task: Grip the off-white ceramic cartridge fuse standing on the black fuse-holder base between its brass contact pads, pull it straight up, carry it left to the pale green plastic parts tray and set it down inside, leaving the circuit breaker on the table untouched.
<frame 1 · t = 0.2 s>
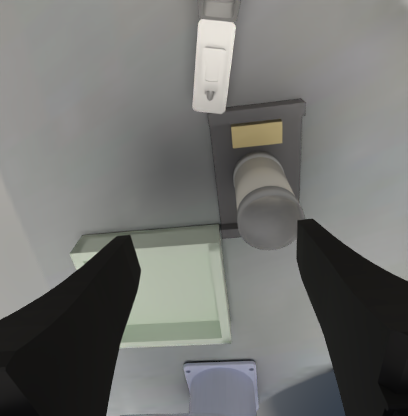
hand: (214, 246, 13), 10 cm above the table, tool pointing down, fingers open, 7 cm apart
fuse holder: (256, 172, 22), on the table
tray: (162, 281, 28), on the table
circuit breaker: (216, 34, 18), on the table
fuse: (257, 174, 22), resting on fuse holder
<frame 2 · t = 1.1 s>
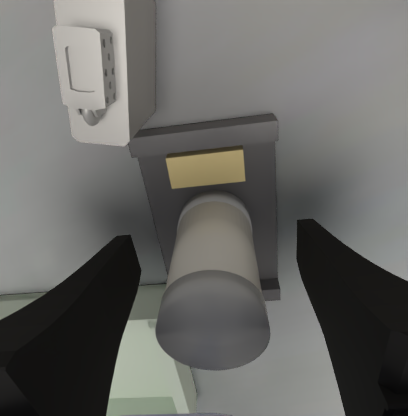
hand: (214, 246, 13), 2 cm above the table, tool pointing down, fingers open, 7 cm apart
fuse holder: (214, 217, 15), on the table
tray: (103, 350, 21), on the table
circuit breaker: (133, 14, 11), on the table
fuse: (214, 221, 15), resting on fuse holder
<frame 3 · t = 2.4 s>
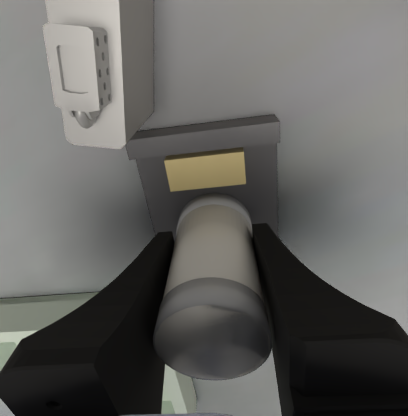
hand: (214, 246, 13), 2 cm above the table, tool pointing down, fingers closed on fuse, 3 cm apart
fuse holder: (214, 220, 15), on the table
tray: (101, 354, 21), on the table
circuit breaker: (130, 12, 11), on the table
fuse: (214, 225, 14), resting on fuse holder, touching gripper
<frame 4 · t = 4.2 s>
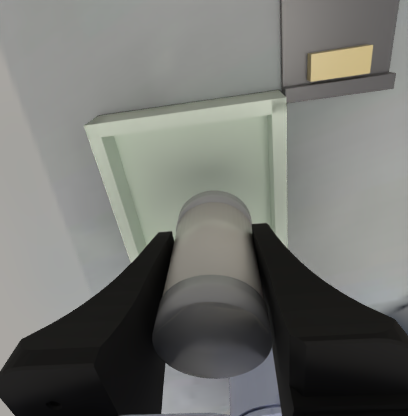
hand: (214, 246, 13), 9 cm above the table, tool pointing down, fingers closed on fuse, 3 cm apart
tray: (199, 185, 22), on the table
fuse: (214, 223, 14), point 8 cm above the table, touching gripper
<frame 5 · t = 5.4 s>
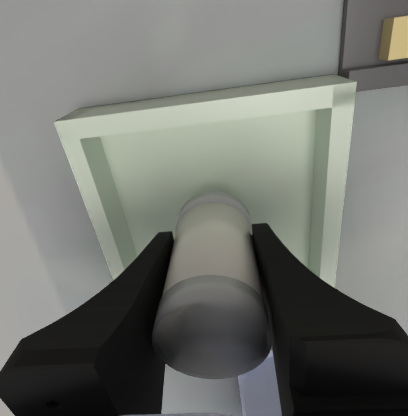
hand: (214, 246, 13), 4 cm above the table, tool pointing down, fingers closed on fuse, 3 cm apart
tray: (215, 203, 16), on the table
fuse: (214, 223, 14), point 2 cm above the table, touching gripper
when the fingers open (3 cm above the table, at t = 6.4 s): fuse stays where it is, resting on tray.
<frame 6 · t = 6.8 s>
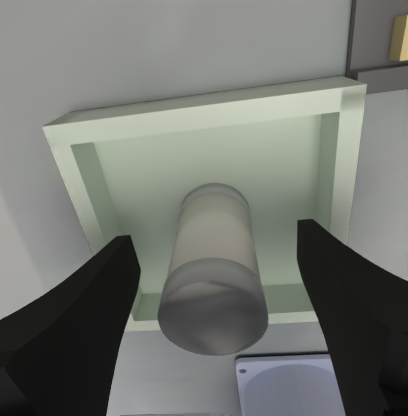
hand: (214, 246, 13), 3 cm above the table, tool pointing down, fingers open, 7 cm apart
tray: (215, 211, 16), on the table
fuse: (214, 214, 15), point 1 cm above the table, touching tray
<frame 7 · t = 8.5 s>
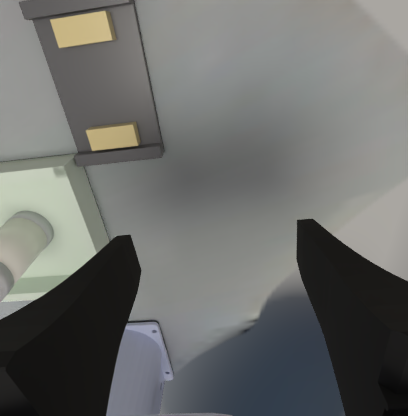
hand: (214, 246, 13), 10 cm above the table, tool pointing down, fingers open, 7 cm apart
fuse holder: (104, 85, 19), on the table
tray: (36, 226, 25), on the table
fuse: (32, 228, 25), point 1 cm above the table, touching tray
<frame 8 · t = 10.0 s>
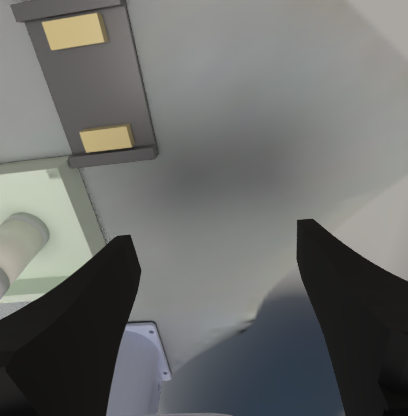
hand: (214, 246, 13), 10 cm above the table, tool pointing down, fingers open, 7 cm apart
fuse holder: (97, 87, 19), on the table
tray: (31, 228, 25), on the table
fuse: (28, 230, 25), point 1 cm above the table, touching tray
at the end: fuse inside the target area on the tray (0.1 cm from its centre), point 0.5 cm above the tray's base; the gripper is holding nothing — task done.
